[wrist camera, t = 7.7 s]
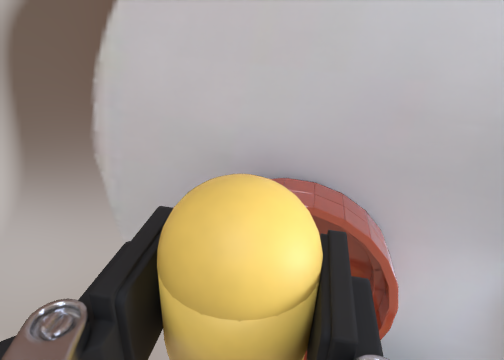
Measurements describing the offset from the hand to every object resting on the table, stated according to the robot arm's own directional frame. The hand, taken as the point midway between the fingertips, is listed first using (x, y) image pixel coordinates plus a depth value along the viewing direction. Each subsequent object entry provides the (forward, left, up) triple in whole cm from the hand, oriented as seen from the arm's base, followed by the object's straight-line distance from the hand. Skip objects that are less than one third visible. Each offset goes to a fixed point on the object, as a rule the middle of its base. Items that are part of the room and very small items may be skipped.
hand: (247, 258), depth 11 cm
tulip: (+2, +2, -1) cm, 3 cm away
